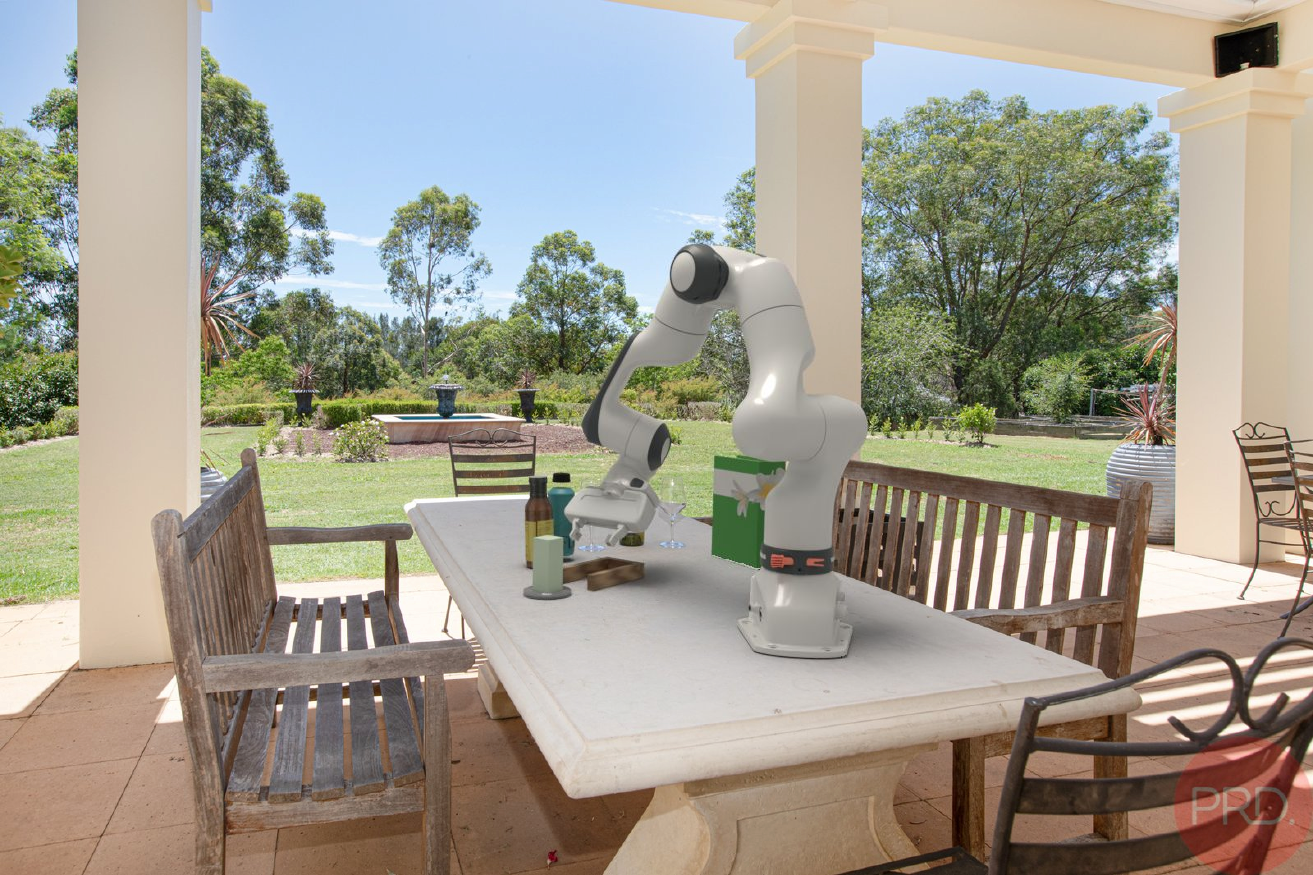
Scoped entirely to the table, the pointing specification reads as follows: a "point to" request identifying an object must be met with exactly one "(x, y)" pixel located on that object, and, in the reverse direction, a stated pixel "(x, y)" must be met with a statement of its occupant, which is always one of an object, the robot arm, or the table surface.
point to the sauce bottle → (537, 515)
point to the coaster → (546, 594)
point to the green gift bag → (728, 528)
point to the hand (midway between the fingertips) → (590, 541)
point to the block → (547, 563)
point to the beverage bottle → (562, 511)
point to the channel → (604, 572)
